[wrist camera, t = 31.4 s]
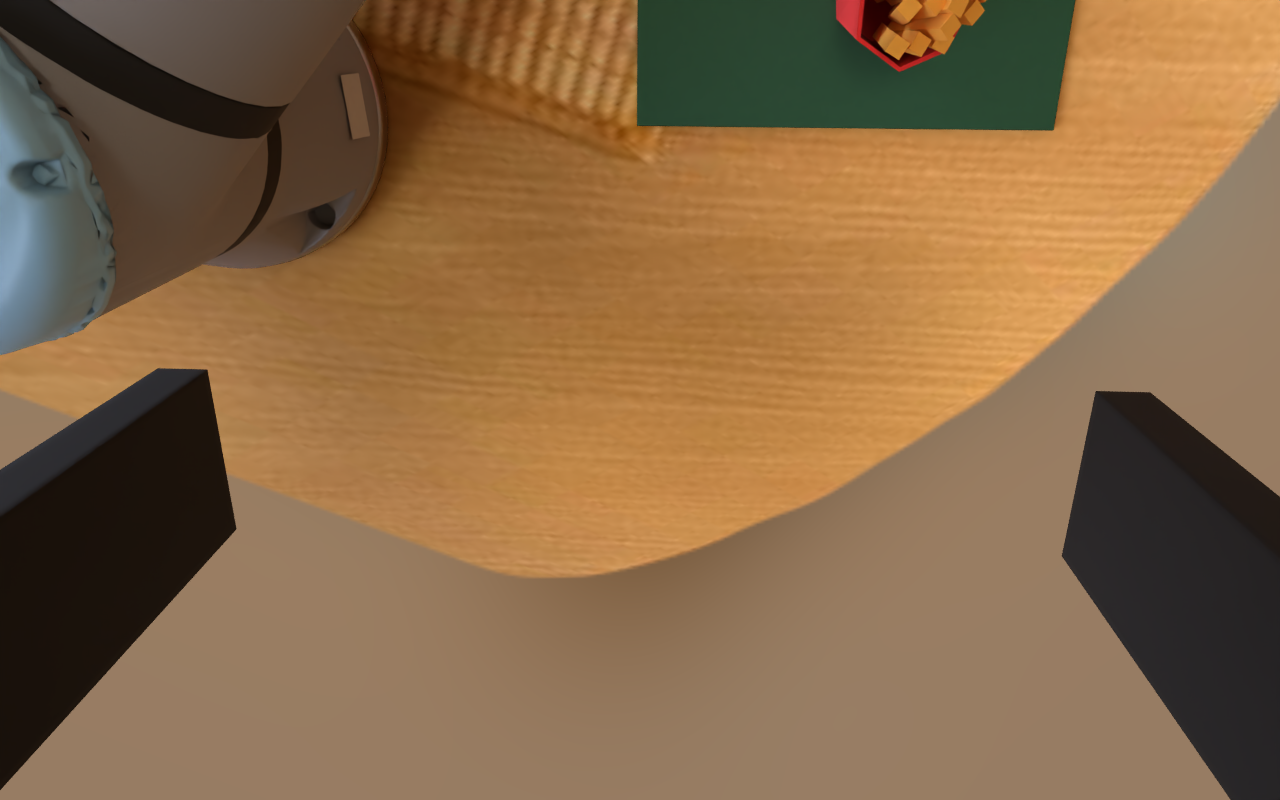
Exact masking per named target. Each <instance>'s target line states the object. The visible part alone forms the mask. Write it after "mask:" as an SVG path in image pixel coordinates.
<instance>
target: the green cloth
mask: <svg viewBox="0 0 1280 800" xmlns="http://www.w3.org/2000/svg"><path fill="white" fill-rule="evenodd" d="M980 4H981V5H982V7H983V8H984V10H985V11H984V12H983V14H982V15H981V16H980V17H979V18H978V19H977V21H976V22H975V23H974V24H973V25H972V26H971V25H963V24H962V25H961V27H960V29H959V30H958V32H957V34H956V36H955V38H954V40H953V41H952V43H951V45H950V47H949V48H948V50H947V52H946V53H945V54H943V53H942V54H940V55H937V56H935V57H933V58H930V59H928V60H926V61H924V62H921V63H919V64H917V65H914V66H912V67H910V68H907V69H905V70H903V71H900V72H899V71H897V70H896V69H895V68H893V67H892V66H891V65H889V64H888V63H887V62H885V61H884V60H883V59H881V58H880V57H879V56H877V55H876V54H875V53H873V52H872V51H871V50H869V49H868V48H867V47H865V46H864V45H863V44H861V43H860V42H859V41H857V40H856V39H855V38H854V37H853V36H852V35H851V34H850V33H849V32H848V31H847V30H846V28H845V27H844V26H843V25H842V24H841V23H840V22H839V21H838V20H837V19H836V0H638V61H637V126H705V127H795V128H885V129H974V130H1054V124H1055V118H1056V112H1057V106H1058V100H1059V94H1060V88H1061V82H1062V76H1063V70H1064V65H1065V59H1066V53H1067V47H1068V41H1069V35H1070V29H1071V23H1072V17H1073V11H1074V5H1075V0H986V2H983V3H980Z"/></svg>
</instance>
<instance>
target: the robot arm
mask: <svg viewBox="0 0 1280 800" xmlns="http://www.w3.org/2000/svg"><path fill="white" fill-rule="evenodd" d="M365 1H366V0H0V355H2V354H6V353H10V352H14V351H17V350H20V349H23V348H26V347H29V346H32V345H36V344H39V343H42V342H45V341H52V340H56V339H58V338H61V337H67V336H69V335H72V334H74V332H79V331H81V330H83V329H84V328H85V327H86V326H87V325H88V324H89V323H90V322H91V321H92V320H94V319H96V318H98V317H100V316H102V315H104V314H105V313H107V312H109V311H111V310H113V309H115V308H117V307H119V306H121V305H123V304H125V303H127V302H129V301H131V300H133V299H135V298H137V297H139V296H141V295H143V294H145V293H147V292H149V291H151V290H153V289H155V288H157V287H159V286H161V285H163V284H165V283H167V282H169V281H171V280H173V279H175V278H177V277H179V276H181V275H183V274H184V273H186V272H188V271H190V270H192V269H194V268H196V267H198V266H200V265H202V264H204V265H212V266H219V267H227V268H259V267H266V266H272V265H277V264H281V263H285V262H290V261H293V260H295V259H298V258H301V257H304V256H306V255H308V254H310V253H312V252H314V251H316V250H317V249H319V248H321V247H322V246H324V245H326V244H327V243H329V242H330V241H332V240H334V239H335V238H336V237H338V236H339V235H340V234H341V233H343V232H344V231H345V230H346V229H347V228H348V227H349V226H350V225H351V224H352V223H353V222H354V221H355V220H356V219H357V217H358V216H359V215H360V214H361V212H362V211H363V210H364V208H365V207H366V205H367V203H368V202H369V200H370V199H371V197H372V195H373V193H374V191H375V188H376V186H377V184H378V181H379V178H380V176H381V173H382V169H383V165H384V161H385V156H386V149H387V140H388V116H387V106H386V99H385V94H384V90H383V85H382V81H381V78H380V75H379V72H378V69H377V66H376V63H375V61H374V58H373V56H372V54H371V51H370V49H369V47H368V45H367V43H366V42H365V40H364V38H363V36H362V34H361V33H360V31H359V29H358V28H357V26H356V25H355V23H354V22H353V20H352V18H353V17H354V16H355V14H356V13H357V12H358V10H359V9H360V7H361V6H362V5H363V3H364V2H365ZM235 530H236V525H235V519H234V513H233V508H232V502H231V497H230V492H229V486H228V480H227V475H226V469H225V464H224V458H223V453H222V447H221V442H220V436H219V431H218V425H217V420H216V414H215V409H214V403H213V398H212V392H211V387H210V381H209V376H208V370H201V369H160V368H158V369H156V370H155V371H153V372H152V373H150V374H149V375H147V376H145V377H144V378H142V379H141V380H139V381H138V382H136V383H135V384H133V385H131V386H130V387H128V388H127V389H125V390H124V391H122V392H121V393H119V394H117V395H116V396H114V397H113V398H111V399H110V400H108V401H107V402H105V403H103V404H102V405H100V406H99V407H97V408H96V409H94V410H93V411H91V412H89V413H88V414H86V415H85V416H83V417H82V418H80V419H79V420H77V421H75V422H74V423H72V424H71V425H69V426H68V427H66V428H65V429H63V430H62V431H60V432H58V433H57V434H55V435H54V436H52V437H51V438H49V439H47V440H46V441H44V442H43V443H41V444H40V445H38V446H37V447H35V448H34V449H32V450H30V451H29V452H27V453H26V454H24V455H23V456H21V457H19V458H18V459H16V460H15V461H13V462H12V463H10V464H9V465H7V466H5V467H4V468H2V469H1V470H0V790H1V789H2V788H3V786H4V785H5V784H6V783H7V782H8V781H9V780H10V779H11V778H12V776H13V775H14V774H15V773H16V772H17V771H18V770H19V769H20V768H21V767H22V766H23V764H24V763H25V762H26V761H27V760H28V759H29V758H30V756H31V755H32V754H33V753H34V752H35V751H36V750H37V749H38V748H39V747H40V746H41V744H42V743H43V742H44V741H45V740H46V739H47V738H48V737H49V736H50V735H51V733H52V732H53V731H54V730H55V729H56V728H57V727H58V726H59V725H60V724H61V722H62V721H63V720H64V719H65V718H66V717H67V716H68V715H69V714H70V712H71V711H72V710H73V709H74V708H75V707H76V706H77V705H78V704H79V703H80V701H81V700H82V699H83V698H84V697H85V696H86V695H87V694H88V692H89V691H90V690H91V689H92V688H93V687H94V686H95V685H96V684H97V683H98V681H99V680H100V679H101V678H102V677H103V676H104V675H105V674H106V673H107V671H108V670H109V669H110V668H111V667H112V666H113V665H114V664H115V663H116V662H117V660H118V659H119V658H120V657H121V656H122V655H123V654H124V653H125V652H126V650H127V649H128V648H129V647H130V646H131V645H132V644H133V643H134V642H135V641H136V639H137V638H138V637H139V636H140V635H141V634H142V633H143V632H144V630H146V629H147V627H148V626H149V625H150V624H151V623H152V622H153V621H154V620H155V618H156V617H157V616H158V615H159V614H160V613H161V612H162V611H163V610H164V609H165V607H166V606H167V605H168V604H169V603H170V602H171V601H172V600H173V599H174V597H175V596H176V595H177V594H178V593H179V592H180V591H181V590H182V589H183V588H184V587H185V585H186V584H187V583H188V582H189V581H190V580H191V579H192V578H193V576H194V575H195V574H196V573H197V572H198V571H199V570H200V569H201V568H202V567H203V566H204V564H205V563H206V562H207V561H208V560H209V559H210V558H211V557H212V555H213V554H214V553H215V552H216V551H217V550H218V549H219V548H220V547H221V545H223V543H224V542H225V541H226V540H227V539H228V538H229V537H230V536H231V535H232V533H233V532H234V531H235ZM1062 557H1063V558H1064V560H1065V561H1066V563H1067V564H1068V566H1069V567H1070V569H1071V570H1072V571H1073V573H1074V574H1075V576H1076V577H1077V579H1078V580H1079V581H1080V583H1081V584H1082V586H1083V587H1084V589H1085V590H1086V591H1087V593H1088V594H1089V595H1090V597H1091V599H1092V600H1093V602H1094V603H1095V604H1096V606H1097V607H1098V609H1099V610H1100V612H1101V613H1102V615H1103V616H1104V617H1105V619H1106V620H1107V622H1108V623H1109V625H1110V626H1111V628H1112V629H1113V631H1114V632H1115V633H1116V635H1117V636H1118V638H1119V639H1120V641H1121V642H1122V643H1123V645H1124V646H1125V648H1126V649H1127V651H1128V652H1129V654H1130V655H1131V656H1132V658H1133V659H1134V661H1135V662H1136V664H1137V665H1138V667H1139V668H1140V669H1141V671H1142V672H1143V674H1144V675H1145V677H1146V678H1147V680H1148V681H1149V682H1150V684H1151V685H1152V687H1153V688H1154V689H1155V691H1156V693H1157V694H1158V696H1159V697H1160V698H1161V700H1162V701H1163V703H1164V704H1165V705H1166V707H1167V708H1168V710H1169V711H1170V713H1171V714H1172V716H1173V717H1174V719H1175V720H1176V721H1177V723H1178V724H1179V726H1180V727H1181V729H1182V730H1183V732H1184V733H1185V734H1186V736H1187V737H1188V739H1189V740H1190V742H1191V743H1192V744H1193V746H1194V747H1195V749H1196V750H1197V752H1198V753H1199V755H1200V756H1201V758H1202V759H1203V760H1204V762H1205V763H1206V765H1207V766H1208V768H1209V769H1210V771H1211V772H1212V773H1213V775H1214V776H1215V778H1216V779H1217V781H1218V782H1219V783H1220V785H1221V786H1222V788H1223V789H1224V791H1225V792H1226V794H1227V795H1228V797H1229V798H1230V799H1231V800H1280V497H1279V496H1278V495H1277V494H1275V493H1274V492H1273V491H1272V490H1270V489H1269V488H1268V487H1267V486H1266V485H1264V484H1263V483H1262V482H1261V481H1259V480H1258V479H1257V478H1256V477H1254V476H1253V475H1252V474H1251V473H1249V472H1248V471H1247V470H1246V469H1244V468H1243V467H1242V466H1241V465H1239V464H1238V463H1237V462H1236V461H1235V460H1233V459H1232V458H1231V457H1230V456H1228V455H1227V454H1226V453H1224V452H1223V451H1222V450H1221V449H1220V448H1218V447H1217V446H1216V445H1215V444H1213V443H1212V442H1211V441H1210V440H1208V439H1207V438H1206V437H1205V436H1204V435H1202V434H1201V433H1200V432H1198V431H1197V430H1196V429H1195V428H1194V427H1192V426H1191V425H1190V424H1189V423H1187V422H1186V421H1185V420H1184V419H1182V418H1181V417H1180V416H1178V415H1177V414H1176V413H1175V412H1174V411H1172V410H1171V409H1170V408H1169V407H1168V406H1166V405H1165V404H1164V403H1163V402H1161V401H1160V400H1159V399H1158V398H1156V397H1155V396H1154V395H1153V394H1151V393H1149V392H1148V393H1147V392H1110V391H1108V392H1107V391H1096V392H1095V397H1094V402H1093V407H1092V412H1091V417H1090V422H1089V427H1088V432H1087V436H1086V441H1085V446H1084V451H1083V456H1082V461H1081V465H1080V470H1079V475H1078V480H1077V485H1076V490H1075V495H1074V500H1073V504H1072V510H1071V514H1070V519H1069V524H1068V529H1067V534H1066V539H1065V543H1064V548H1063V553H1062Z"/></svg>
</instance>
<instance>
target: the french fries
mask: <svg viewBox="0 0 1280 800" xmlns="http://www.w3.org/2000/svg"><path fill="white" fill-rule="evenodd" d="M983 2H986V0H836V19H837V20H838V21H839V22H840V23H841V24H842V25H843V26H844V27H845V28H846V30H847V31H848V32H849V33H850V34H851V35H852V36H853V37H854V38H855V39H856V40H857V41H859V42H860V43H861V44H863V45H864V46H865V47H867V48H868V49H869V50H871V51H872V52H873V53H875V54H876V55H877V56H879V57H880V58H881V59H883V60H884V61H885V62H887V63H888V64H889V65H891V66H892V67H893V68H895V69H896V70H897V71H899V72H900V71H903V70H905V69H907V68H910V67H912V66H914V65H917V64H919V63H921V62H924V61H926V60H928V59H930V58H933V57H935V56H937V55H940V54H942V53H943V54H945V53H946V52H947V50H948V48H949V47H950V45H951V43H952V41H953V40H954V38H955V36H956V34H957V32H958V30H959V29H960V27H961V25H962V24H963V25H971V26H972V25H973V24H974V23H975V22H976V21H977V19H978V18H979V17H980V16H981V15H982V14H983V12H984V11H985V10H984V8H983V7H982V5H981V4H980V3H983Z"/></svg>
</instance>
